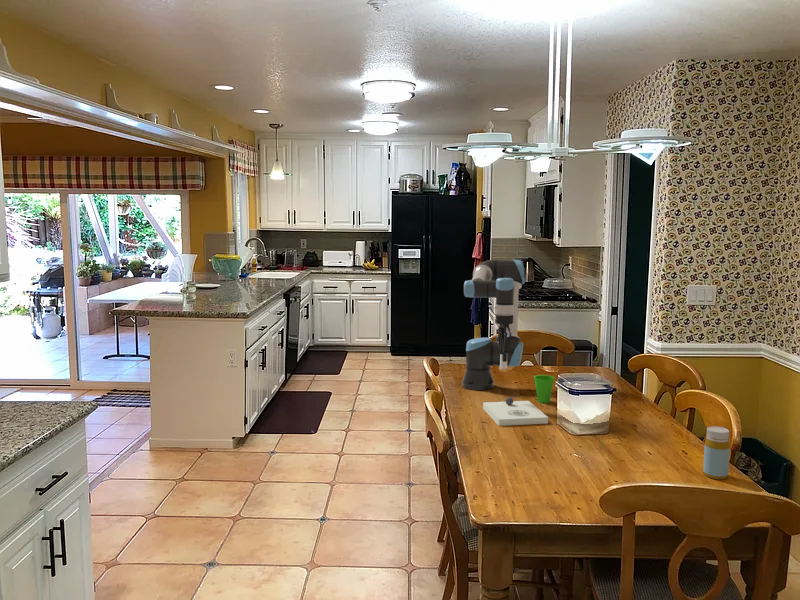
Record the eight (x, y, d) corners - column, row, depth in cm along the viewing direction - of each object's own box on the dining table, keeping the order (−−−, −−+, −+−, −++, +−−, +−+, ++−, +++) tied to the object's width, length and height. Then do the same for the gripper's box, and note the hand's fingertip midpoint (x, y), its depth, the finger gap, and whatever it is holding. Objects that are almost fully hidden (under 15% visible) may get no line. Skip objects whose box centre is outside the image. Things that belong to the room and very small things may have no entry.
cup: (552, 399, 291) (553, 375, 289) (555, 404, 282) (556, 380, 281) (532, 398, 292) (532, 374, 290) (534, 404, 283) (534, 379, 281)
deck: (482, 408, 277) (483, 402, 277) (528, 406, 280) (528, 400, 279) (498, 425, 254) (498, 419, 253) (548, 423, 256) (548, 417, 256)
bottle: (698, 472, 206) (701, 426, 205) (719, 471, 207) (722, 425, 205) (710, 480, 200) (713, 433, 198) (732, 479, 200) (735, 432, 198)
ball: (504, 403, 275) (504, 396, 274) (511, 403, 275) (511, 396, 275) (506, 406, 271) (506, 398, 271) (514, 405, 272) (514, 398, 271)
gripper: (491, 312, 283) (491, 365, 286) (500, 316, 271) (499, 372, 273) (508, 312, 284) (507, 365, 287) (517, 316, 272) (516, 371, 274)
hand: (503, 368), depth 280 cm, fingers closed
